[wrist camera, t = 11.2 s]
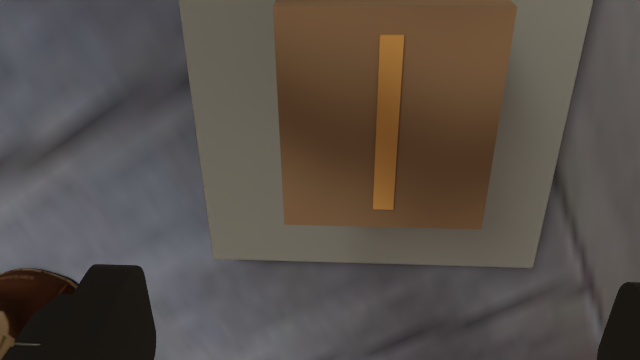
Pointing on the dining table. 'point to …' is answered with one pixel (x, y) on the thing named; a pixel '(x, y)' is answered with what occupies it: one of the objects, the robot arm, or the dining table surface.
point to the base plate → (354, 241)
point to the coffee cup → (26, 299)
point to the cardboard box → (389, 109)
